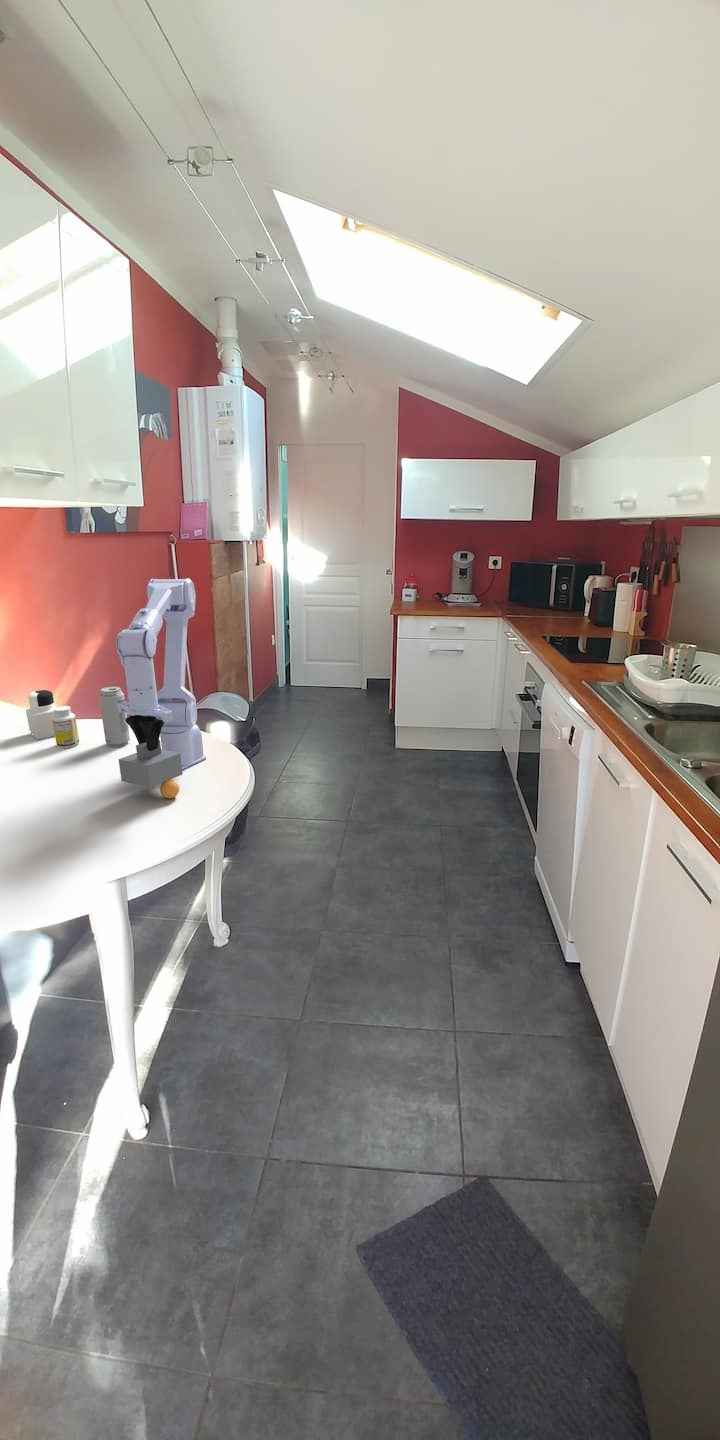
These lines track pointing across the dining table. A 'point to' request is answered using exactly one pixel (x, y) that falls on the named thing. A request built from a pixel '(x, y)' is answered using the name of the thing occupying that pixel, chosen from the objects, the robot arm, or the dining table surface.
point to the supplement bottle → (65, 727)
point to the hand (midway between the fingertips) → (149, 748)
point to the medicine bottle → (41, 714)
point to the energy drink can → (113, 717)
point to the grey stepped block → (150, 766)
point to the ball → (169, 789)
